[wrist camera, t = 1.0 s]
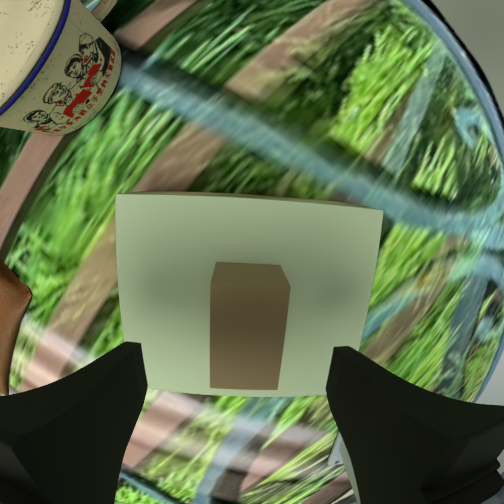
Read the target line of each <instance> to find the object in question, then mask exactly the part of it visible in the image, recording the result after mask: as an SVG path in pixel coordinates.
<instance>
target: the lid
mask: <svg viewBox="0 0 504 504" xmlns="http://www.w3.org/2000/svg"><path fill="white" fill-rule="evenodd" d="M382 219H383V210H379V209H374V208H365V207H356V206H347V205H337V204H327V203H316V202H304V201H292V200H279V199H265V198H249V197H232V196H211V195H183V194H116V255H117V274H118V288H119V300H120V310H121V319H122V328H123V336H124V342H126V341H128V342H138V343H141V346H142V353H143V360H144V366H145V372H146V377H147V383H148V387H147V388H149V389H156V390H164V391H172V392H182V393H193V394H205V395H221V396H245V397H291V396H316V395H327V393H326V389H325V388H326V383H327V378H328V373H329V369H330V364H331V358H332V353H333V348H334V347H338V346H350V347H352V348H353V349H355V350H357V351H359V347H360V343H361V338H362V334H363V330H364V326H365V321H366V316H367V312H368V307H369V302H370V297H371V292H372V286H373V281H374V275H375V269H376V263H377V256H378V250H379V243H380V235H381V227H382Z"/></svg>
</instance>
